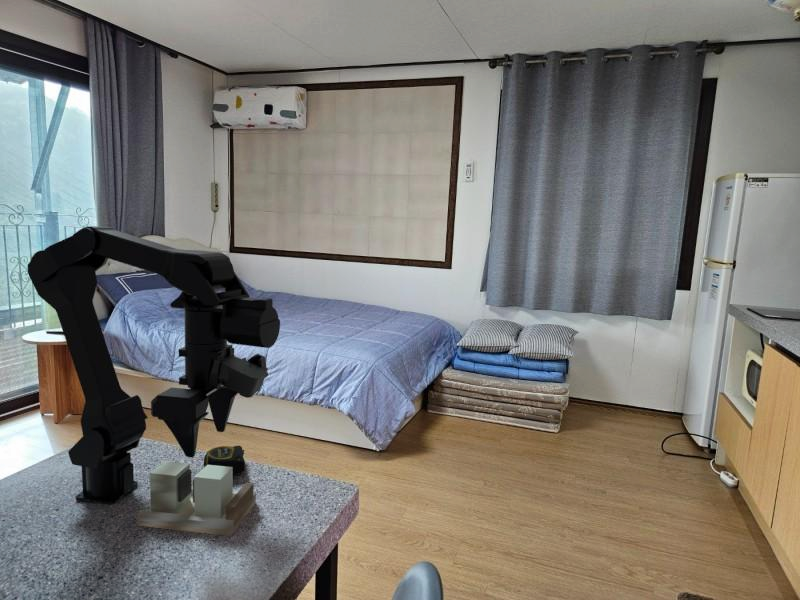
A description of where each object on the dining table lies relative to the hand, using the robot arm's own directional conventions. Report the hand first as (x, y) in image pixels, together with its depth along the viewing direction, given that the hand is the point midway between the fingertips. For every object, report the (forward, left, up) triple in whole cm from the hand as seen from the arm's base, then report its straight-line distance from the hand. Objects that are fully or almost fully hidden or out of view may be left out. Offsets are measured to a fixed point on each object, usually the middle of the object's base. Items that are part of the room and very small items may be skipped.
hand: (206, 443), depth 78 cm
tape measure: (-3, +14, -11) cm, 18 cm away
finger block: (+1, -1, -10) cm, 10 cm away
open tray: (-1, -1, -11) cm, 11 cm away
